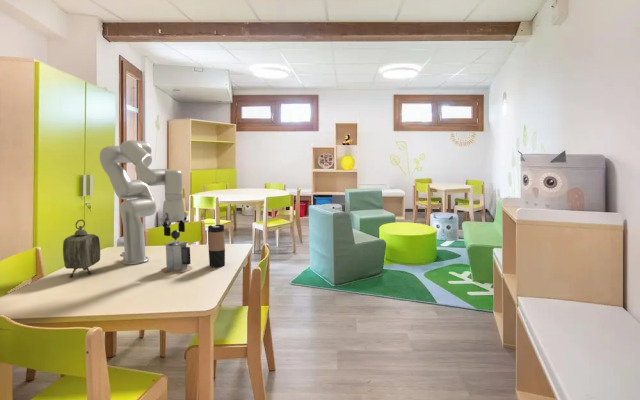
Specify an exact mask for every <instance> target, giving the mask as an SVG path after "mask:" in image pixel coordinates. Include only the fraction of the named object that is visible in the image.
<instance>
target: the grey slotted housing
mask: <svg viewBox="0 0 640 400" xmlns="http://www.w3.org/2000/svg"><path fill="white" fill-rule="evenodd" d="M187 244H188V241H179V240H177V243H176V244H175V240H173V241H170V242H166V243H164V245H165V257H166V258H165V259H166V260H165V262H166V267H167V271H169V272H179V271H184V270H186V269H187V265H188V266H190V265H191V264H192V263H191V246H187Z"/></svg>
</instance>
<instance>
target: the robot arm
mask: <svg viewBox="0 0 640 400" xmlns="http://www.w3.org/2000/svg"><path fill="white" fill-rule="evenodd" d="M151 154H152V147H151V145H150V143H148V142H147V141H145V140H134V139H133V140H126V141H123V142H122V143H121V144H120V145H109V146H104V147H103V148H102V149H101V150H100V152H99V162H100V164H101V165H100V166H101V167H102V169H103V171H104V172H105V173H106V176H108V179H109V181H110V184H111V186H112V187H113V190H114V193H115V195H116V196H117V198H118V199H120V200H124V201H123V202H121V204H120V205H119V213H120V216H121V221H122V230H123V233H122V234H123V247H124V251H122V252H121V253H120V254H119V257H123V258H122V259H121V264H123V265H139V264H140V265H141V264H145V263H147V262H149V260H150V258H149V257H148V256H146V243H145V242H146V241H145V240H146V239H145V226H144V223H143V222H142V221H141V219H140V218H145V217H150V216H153V215H154V214H155V213H156V212H157V205H156V204H157V203H156V201H155V199H154V196H153V194H152V192H151V190H150V188H149V187H155V186H164V201H163V205H162V216H161V217H160V218H159V222H160V224H161V226H162V228H163V236H166V237H171V233H172V231H171V224H172V223H173V224H174V223H177V222H178V229H177V230H178V231H179V232H180V233H185V232H186V225H185V224H186V221H187V217H188V212H186V211H185V206H184V205H185V204H184V199H183V173H182V171H181V170H180V169H179V170H178V169H177V170H176V169H170V168H154V169H150V168H149V167H150V165H151V164H152V162H153V157H152V155H151ZM123 163H127V164H128V163H132V164H133V165H134V166H135V167H134V169H135V174H136V177H137V178H138V179H131V178H130V176H129V175H128V173H127V171H126V169H125V168H124V167H123V166H121V165H120V164H123Z"/></svg>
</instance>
